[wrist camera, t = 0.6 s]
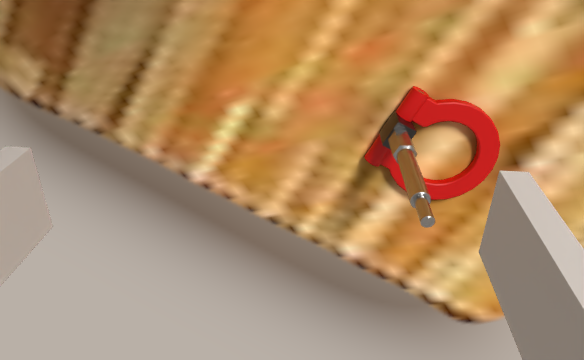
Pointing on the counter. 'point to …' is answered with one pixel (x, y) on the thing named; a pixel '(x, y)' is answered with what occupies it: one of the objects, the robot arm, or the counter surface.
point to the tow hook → (401, 152)
